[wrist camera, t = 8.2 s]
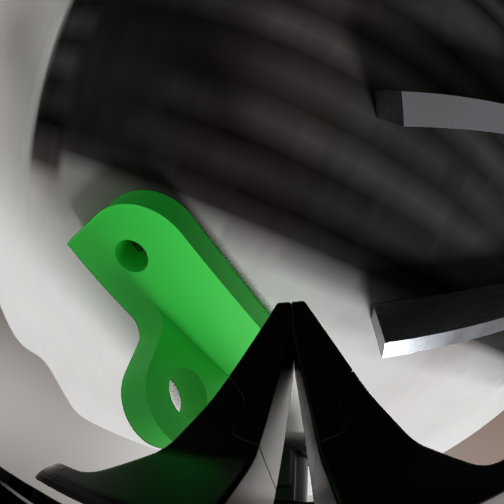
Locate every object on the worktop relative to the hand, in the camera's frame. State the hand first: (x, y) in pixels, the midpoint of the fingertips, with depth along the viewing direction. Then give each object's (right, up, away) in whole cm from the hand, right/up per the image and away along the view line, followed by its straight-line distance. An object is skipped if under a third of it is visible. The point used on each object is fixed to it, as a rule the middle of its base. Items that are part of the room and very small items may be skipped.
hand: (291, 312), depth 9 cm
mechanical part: (-5, 0, +7) cm, 9 cm away
